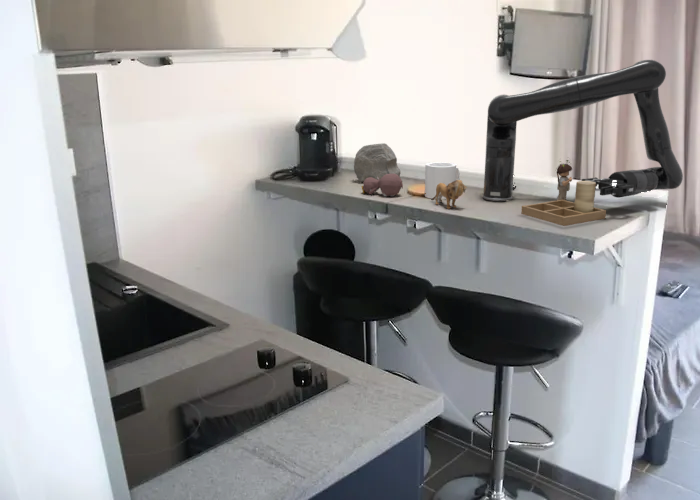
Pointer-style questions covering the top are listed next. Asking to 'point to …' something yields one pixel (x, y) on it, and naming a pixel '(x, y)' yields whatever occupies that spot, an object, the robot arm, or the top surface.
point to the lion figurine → (449, 192)
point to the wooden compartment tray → (561, 213)
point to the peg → (585, 196)
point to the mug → (439, 176)
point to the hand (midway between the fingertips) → (588, 189)
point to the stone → (375, 162)
